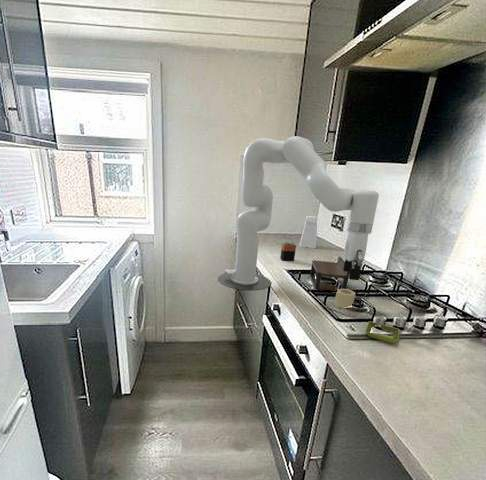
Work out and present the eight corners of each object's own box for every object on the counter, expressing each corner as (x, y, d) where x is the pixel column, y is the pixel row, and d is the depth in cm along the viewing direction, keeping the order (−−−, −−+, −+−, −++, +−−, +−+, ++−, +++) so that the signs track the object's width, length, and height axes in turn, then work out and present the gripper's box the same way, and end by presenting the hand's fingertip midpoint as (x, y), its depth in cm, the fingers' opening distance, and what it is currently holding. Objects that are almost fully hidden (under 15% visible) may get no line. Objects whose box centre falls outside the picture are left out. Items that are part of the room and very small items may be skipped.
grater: (299, 243, 213) (303, 215, 207) (315, 245, 211) (320, 216, 204) (299, 246, 204) (304, 217, 197) (316, 248, 201) (321, 218, 195)
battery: (279, 258, 171) (282, 241, 168) (291, 259, 172) (293, 241, 169) (282, 260, 167) (284, 243, 164) (294, 261, 168) (296, 243, 165)
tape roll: (335, 307, 110) (338, 293, 108) (332, 301, 116) (335, 287, 114) (354, 310, 109) (357, 295, 107) (350, 303, 115) (353, 289, 113)
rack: (314, 291, 125) (318, 265, 122) (309, 276, 144) (313, 254, 140) (345, 294, 123) (350, 269, 120) (336, 279, 142) (340, 256, 138)
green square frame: (367, 326, 97) (368, 320, 97) (398, 334, 93) (400, 328, 92) (363, 337, 90) (365, 331, 90) (396, 347, 86) (398, 340, 85)
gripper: (343, 223, 112) (335, 267, 117) (354, 231, 96) (344, 282, 101) (364, 225, 110) (355, 269, 116) (379, 233, 94) (368, 284, 100)
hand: (350, 275), depth 108 cm, fingers open, 9 cm apart
